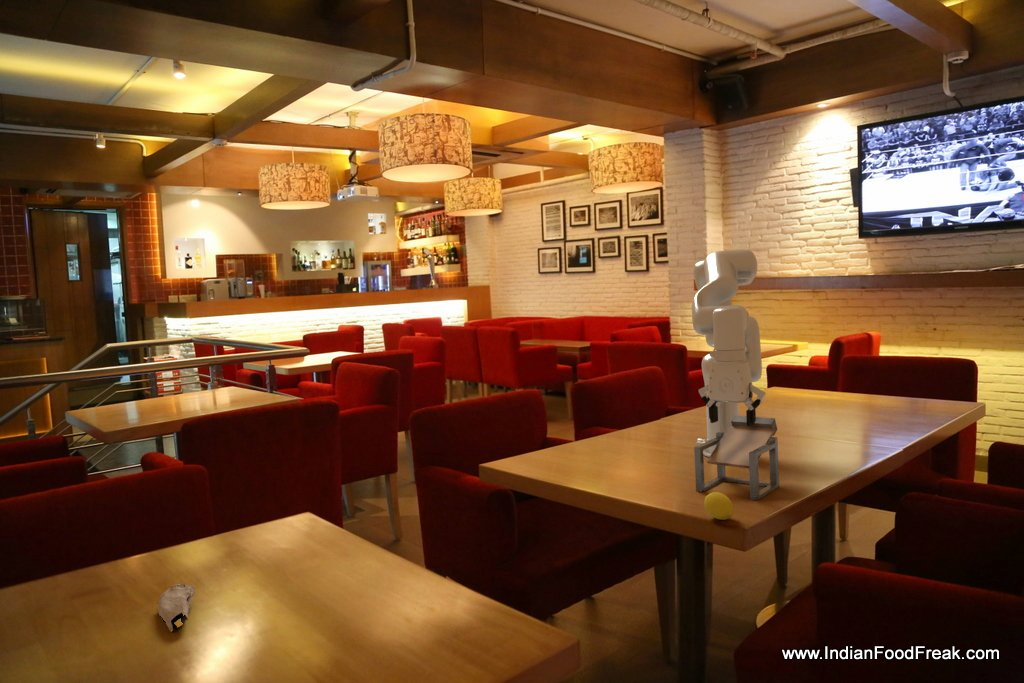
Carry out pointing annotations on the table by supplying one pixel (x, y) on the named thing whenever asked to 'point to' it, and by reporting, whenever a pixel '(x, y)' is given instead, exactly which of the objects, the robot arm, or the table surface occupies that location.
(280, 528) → the table surface
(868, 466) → the table surface
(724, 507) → the lemon
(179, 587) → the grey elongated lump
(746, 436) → the trapdoor
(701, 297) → the robot arm
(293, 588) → the table surface
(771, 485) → the frame
